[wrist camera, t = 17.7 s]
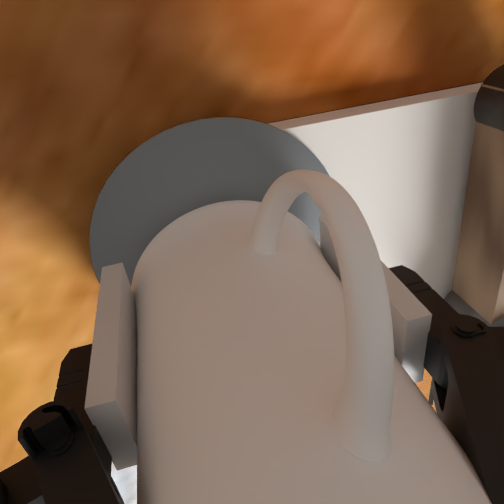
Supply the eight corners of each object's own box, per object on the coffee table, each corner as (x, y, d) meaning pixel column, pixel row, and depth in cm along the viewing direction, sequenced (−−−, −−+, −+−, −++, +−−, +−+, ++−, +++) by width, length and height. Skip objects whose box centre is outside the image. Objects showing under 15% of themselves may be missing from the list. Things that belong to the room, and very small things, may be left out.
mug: (152, 91, 14) (192, 342, 4) (376, 135, 16) (760, 350, 6) (122, 360, 19) (106, 761, 9) (294, 360, 22) (431, 670, 12)
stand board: (155, 406, 24) (161, 517, 19) (52, 138, 16) (11, 205, 11) (503, 310, 27) (590, 383, 22) (574, 41, 19) (743, 58, 14)
